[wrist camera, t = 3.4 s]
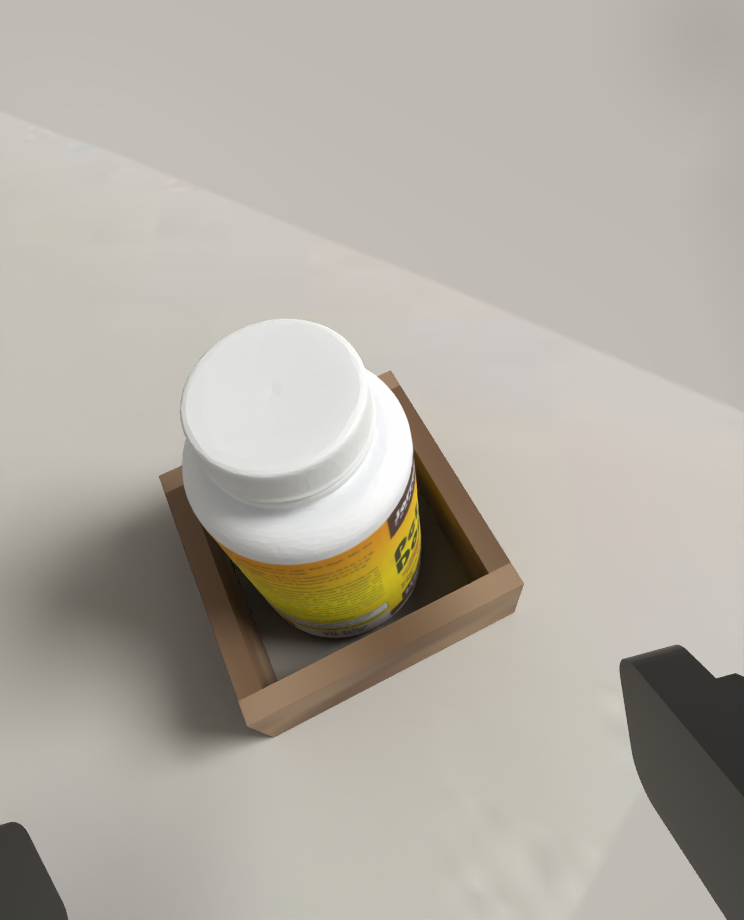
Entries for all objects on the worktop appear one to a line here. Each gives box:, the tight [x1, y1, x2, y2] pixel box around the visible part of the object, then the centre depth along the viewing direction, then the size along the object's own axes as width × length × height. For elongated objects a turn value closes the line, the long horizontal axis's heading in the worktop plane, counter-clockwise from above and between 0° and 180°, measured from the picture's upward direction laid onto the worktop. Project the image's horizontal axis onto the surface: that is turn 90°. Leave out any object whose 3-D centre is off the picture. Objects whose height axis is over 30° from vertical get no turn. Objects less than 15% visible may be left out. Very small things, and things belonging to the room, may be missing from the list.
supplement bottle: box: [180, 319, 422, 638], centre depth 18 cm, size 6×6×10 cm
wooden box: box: [159, 370, 524, 737], centre depth 21 cm, size 8×8×3 cm
